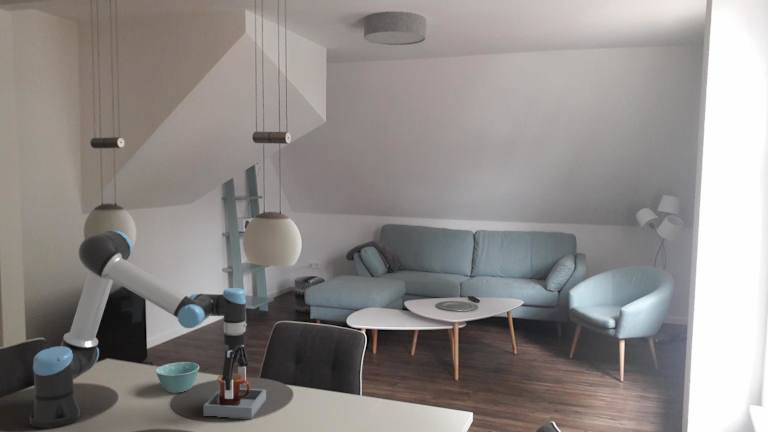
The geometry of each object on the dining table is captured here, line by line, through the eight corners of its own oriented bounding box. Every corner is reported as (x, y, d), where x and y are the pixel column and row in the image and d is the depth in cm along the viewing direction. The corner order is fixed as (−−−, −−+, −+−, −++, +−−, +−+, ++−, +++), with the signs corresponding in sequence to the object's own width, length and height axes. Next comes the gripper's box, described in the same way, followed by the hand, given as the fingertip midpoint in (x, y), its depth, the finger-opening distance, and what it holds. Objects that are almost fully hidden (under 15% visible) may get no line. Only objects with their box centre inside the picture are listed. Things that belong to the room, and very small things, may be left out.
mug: (212, 409, 223) (212, 380, 222) (224, 399, 231) (223, 372, 230) (244, 412, 220) (244, 383, 219) (255, 402, 229) (254, 375, 228)
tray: (203, 416, 219) (203, 405, 218) (221, 397, 235) (221, 387, 235) (251, 419, 217) (251, 407, 216) (266, 400, 234) (266, 389, 233)
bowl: (149, 388, 244) (149, 367, 244) (188, 378, 255) (188, 358, 254) (166, 400, 233) (166, 378, 232) (206, 389, 243) (206, 368, 243)
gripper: (233, 343, 211) (234, 405, 213) (256, 323, 235) (256, 379, 237) (211, 342, 211) (212, 404, 214) (236, 322, 236) (237, 378, 238)
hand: (235, 391), depth 226 cm, fingers open, 13 cm apart
